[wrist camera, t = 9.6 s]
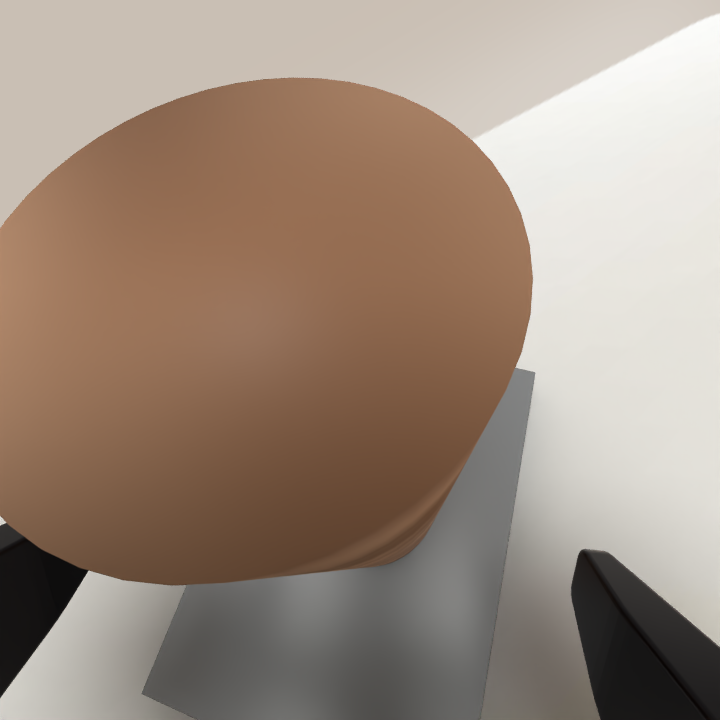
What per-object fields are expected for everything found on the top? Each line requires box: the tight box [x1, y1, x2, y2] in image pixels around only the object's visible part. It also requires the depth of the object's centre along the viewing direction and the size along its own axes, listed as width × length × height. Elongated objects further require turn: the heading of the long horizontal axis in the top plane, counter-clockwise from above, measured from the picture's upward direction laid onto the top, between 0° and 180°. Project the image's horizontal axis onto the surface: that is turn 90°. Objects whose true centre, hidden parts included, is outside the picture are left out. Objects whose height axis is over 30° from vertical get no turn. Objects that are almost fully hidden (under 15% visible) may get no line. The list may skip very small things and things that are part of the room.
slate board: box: [142, 368, 535, 720], centre depth 16 cm, size 14×10×2 cm
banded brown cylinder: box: [0, 78, 533, 585], centre depth 10 cm, size 5×5×13 cm
